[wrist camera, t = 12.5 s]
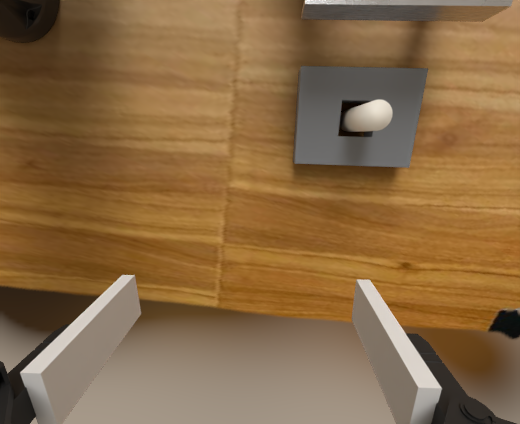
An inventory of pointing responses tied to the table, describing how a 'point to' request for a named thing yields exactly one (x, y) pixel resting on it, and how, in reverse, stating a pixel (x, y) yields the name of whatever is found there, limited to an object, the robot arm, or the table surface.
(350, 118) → the peg
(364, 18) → the grey legged flat piece
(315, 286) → the table surface
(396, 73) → the socket block
